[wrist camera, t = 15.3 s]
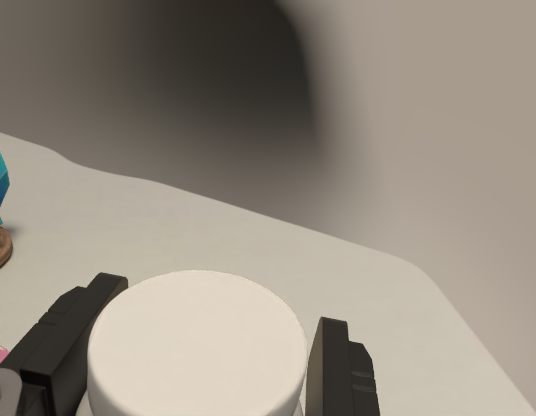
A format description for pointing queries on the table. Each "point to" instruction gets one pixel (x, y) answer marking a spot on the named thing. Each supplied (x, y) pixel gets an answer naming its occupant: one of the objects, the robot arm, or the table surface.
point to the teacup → (3, 353)
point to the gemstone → (3, 245)
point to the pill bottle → (195, 350)
